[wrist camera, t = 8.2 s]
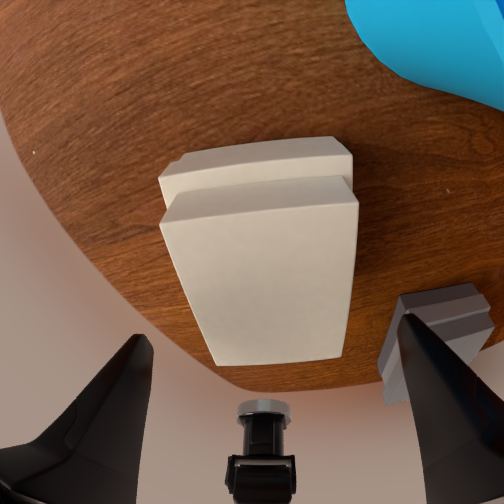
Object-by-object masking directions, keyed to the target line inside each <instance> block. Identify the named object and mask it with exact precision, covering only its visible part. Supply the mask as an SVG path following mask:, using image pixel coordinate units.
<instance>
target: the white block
mask: <svg viewBox="0 0 504 504" xmlns="http://www.w3.org/2000/svg"><path fill="white" fill-rule="evenodd" d="M358 217H359V202H358V200H357V199H356V197H355V196H354V194H353V192H352V191H351V189H350V188H349V186H348V185H347V183H346V181H345V180H344V178H343V177H342V176H341V175H339V176H324V177H311V178H299V179H288V180H278V181H269V182H259V183H251V184H243V185H235V186H227V187H220V188H212V189H205V190H199V191H192V192H186V193H180V194H177V195H176V196H175V198H174V199H173V201H172V203H171V204H170V206H169V208H168V210H167V211H166V213H165V215H164V216H163V218H162V220H161V222H160V228H161V231H162V234H163V237H164V240H165V242H166V245H167V248H168V250H169V253H170V256H171V259H172V261H173V264H174V266H175V269H176V272H177V274H178V277H179V279H180V282H181V284H182V287H183V289H184V292H185V294H186V297H187V299H188V302H189V304H190V306H191V309H192V311H193V314H194V316H195V318H196V321H197V323H198V325H199V328H200V330H201V332H202V334H203V337H204V339H205V341H206V343H207V346H208V348H209V350H210V352H211V354H212V357H213V359H214V361H215V363H216V365H217V366H238V365H262V364H278V363H291V362H302V361H312V360H322V359H330V358H338V357H341V355H342V350H343V345H344V339H345V333H346V327H347V320H348V314H349V307H350V300H351V292H352V284H353V276H354V266H355V256H356V245H357V232H358Z"/></svg>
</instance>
